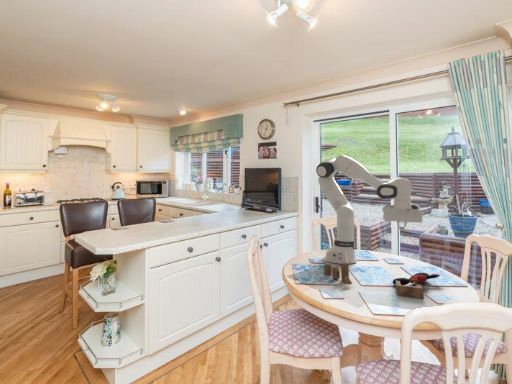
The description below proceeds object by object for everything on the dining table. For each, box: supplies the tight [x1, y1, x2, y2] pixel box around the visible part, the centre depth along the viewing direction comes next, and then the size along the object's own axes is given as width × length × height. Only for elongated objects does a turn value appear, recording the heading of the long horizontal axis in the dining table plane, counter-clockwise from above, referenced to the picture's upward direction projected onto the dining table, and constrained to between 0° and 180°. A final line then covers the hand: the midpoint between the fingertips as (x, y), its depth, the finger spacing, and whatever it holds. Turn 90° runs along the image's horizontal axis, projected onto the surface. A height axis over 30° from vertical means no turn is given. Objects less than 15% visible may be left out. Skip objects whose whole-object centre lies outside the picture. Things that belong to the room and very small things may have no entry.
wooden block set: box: [323, 262, 353, 285], centre depth 153 cm, size 18×9×10 cm, turn 36°
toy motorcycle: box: [392, 272, 441, 286], centre depth 145 cm, size 25×5×16 cm
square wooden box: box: [395, 281, 424, 300], centre depth 135 cm, size 11×11×5 cm
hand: (401, 229), depth 159 cm, fingers closed
